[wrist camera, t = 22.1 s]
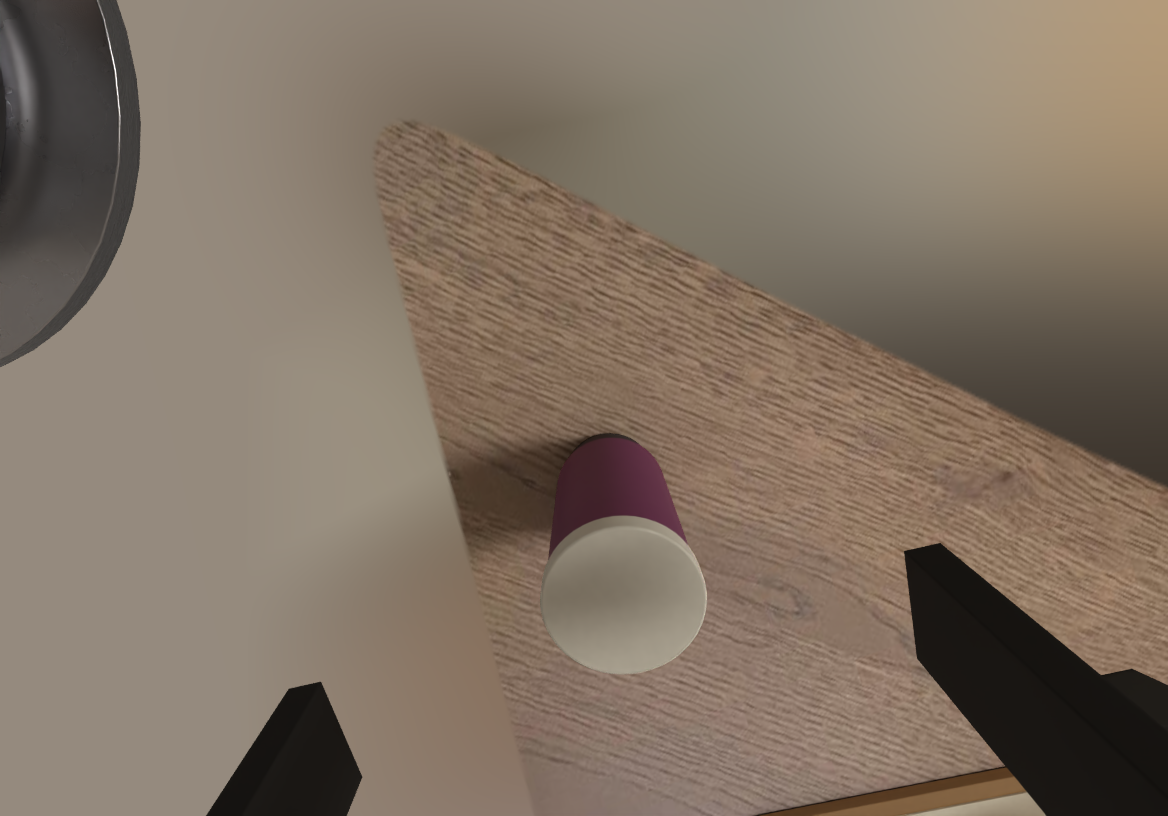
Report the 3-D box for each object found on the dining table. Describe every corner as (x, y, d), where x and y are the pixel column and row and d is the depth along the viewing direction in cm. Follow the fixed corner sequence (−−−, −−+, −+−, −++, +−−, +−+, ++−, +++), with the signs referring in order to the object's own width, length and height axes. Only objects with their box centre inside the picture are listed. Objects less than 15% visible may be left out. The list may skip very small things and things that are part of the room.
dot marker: (544, 437, 26) (520, 548, 16) (649, 412, 25) (689, 509, 16) (571, 533, 27) (563, 690, 17) (671, 510, 27) (722, 657, 17)
